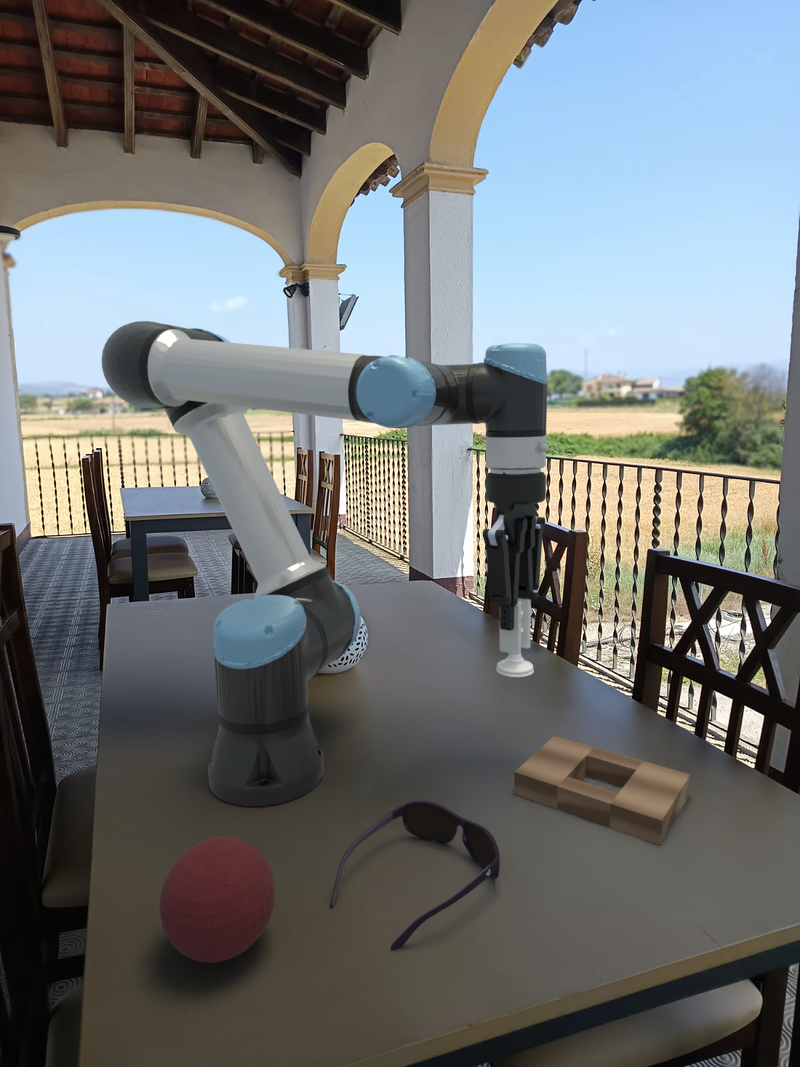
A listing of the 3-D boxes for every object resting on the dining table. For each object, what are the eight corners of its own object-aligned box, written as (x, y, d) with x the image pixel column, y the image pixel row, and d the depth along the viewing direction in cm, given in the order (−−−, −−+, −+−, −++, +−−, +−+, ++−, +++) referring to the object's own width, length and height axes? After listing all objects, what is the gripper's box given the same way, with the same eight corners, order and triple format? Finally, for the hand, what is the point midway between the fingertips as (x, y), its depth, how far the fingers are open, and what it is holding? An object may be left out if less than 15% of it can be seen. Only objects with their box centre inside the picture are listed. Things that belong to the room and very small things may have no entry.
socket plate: (660, 845, 76) (661, 820, 75) (514, 793, 86) (514, 772, 86) (688, 796, 85) (690, 774, 85) (553, 755, 96) (554, 735, 95)
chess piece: (489, 667, 92) (489, 595, 90) (521, 661, 94) (521, 591, 92) (507, 679, 88) (508, 604, 86) (541, 673, 89) (541, 599, 88)
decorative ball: (152, 933, 64) (144, 836, 62) (255, 893, 69) (250, 803, 67) (180, 1011, 55) (171, 901, 54) (294, 959, 61) (289, 857, 59)
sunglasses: (514, 879, 71) (515, 836, 70) (417, 972, 59) (417, 921, 59) (414, 829, 80) (414, 789, 79) (313, 900, 68) (311, 855, 68)
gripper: (515, 476, 78) (514, 672, 82) (567, 467, 90) (564, 638, 94) (459, 474, 82) (460, 660, 86) (516, 465, 95) (515, 629, 98)
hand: (515, 648), depth 90 cm, fingers closed on chess piece, 2 cm apart
